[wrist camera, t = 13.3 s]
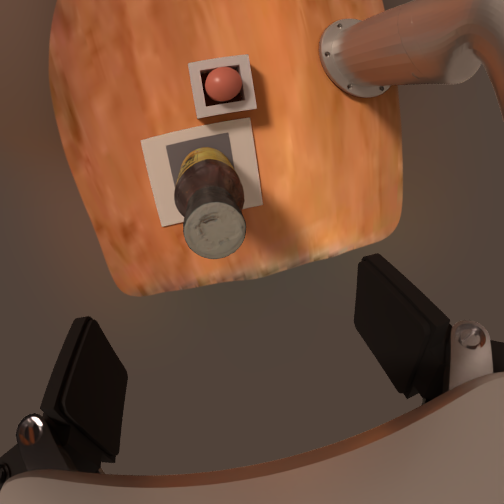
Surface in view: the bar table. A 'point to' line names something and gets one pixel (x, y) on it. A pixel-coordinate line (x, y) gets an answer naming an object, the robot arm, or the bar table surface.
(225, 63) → the button housing
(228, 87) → the button
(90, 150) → the bar table surface
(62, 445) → the robot arm
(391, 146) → the bar table surface
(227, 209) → the sauce bottle
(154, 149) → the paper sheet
